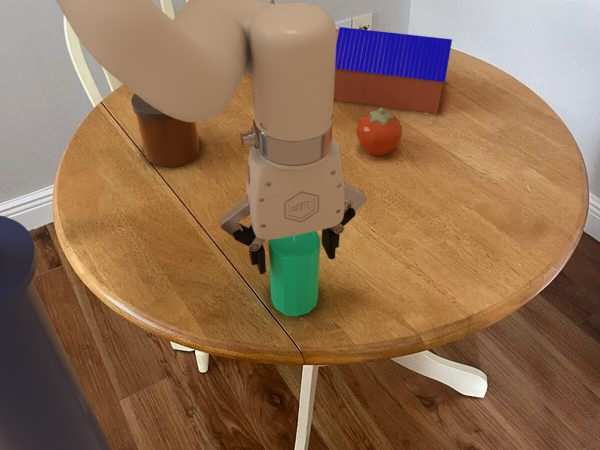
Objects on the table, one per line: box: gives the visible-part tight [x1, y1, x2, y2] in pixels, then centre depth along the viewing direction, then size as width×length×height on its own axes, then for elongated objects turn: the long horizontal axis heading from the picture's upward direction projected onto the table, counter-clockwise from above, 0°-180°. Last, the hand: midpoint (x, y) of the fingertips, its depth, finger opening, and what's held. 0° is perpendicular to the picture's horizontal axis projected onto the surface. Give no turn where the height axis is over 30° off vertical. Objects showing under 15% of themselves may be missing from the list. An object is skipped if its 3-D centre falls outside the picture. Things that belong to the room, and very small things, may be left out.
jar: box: [130, 92, 201, 168], centre depth 94 cm, size 10×10×10 cm
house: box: [334, 26, 453, 115], centre depth 108 cm, size 12×20×12 cm, turn 76°
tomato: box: [355, 107, 403, 157], centre depth 95 cm, size 7×7×8 cm
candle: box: [267, 231, 321, 317], centre depth 71 cm, size 6×6×12 cm
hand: (294, 257), depth 70 cm, fingers open, 7 cm apart
